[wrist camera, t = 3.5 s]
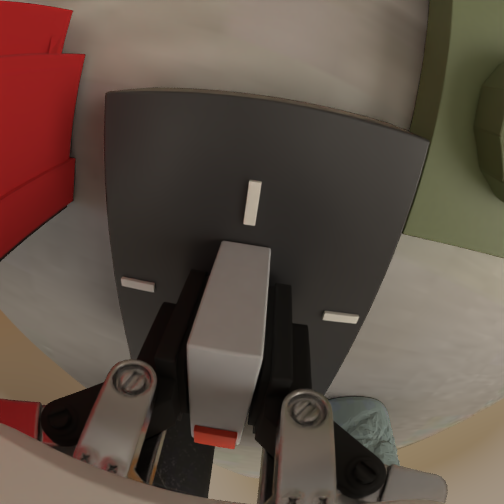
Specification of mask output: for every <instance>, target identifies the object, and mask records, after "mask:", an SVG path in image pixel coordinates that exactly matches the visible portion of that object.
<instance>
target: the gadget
mask: <svg viewBox="0 0 504 504" xmlns="http://www.w3.org/2000/svg"><path fill="white" fill-rule="evenodd" d="M429 144H430V142H429V140H428V139H426V138H423V137H421V136H419V135H417V134H414V133H412V132H410V131H407V130H405V129H402V128H400V127H397V126H395V125H392V124H390V123H387V122H383V121H380V120H377V119H373V118H370V117H366V116H362V115H358V114H355V113H351V112H347V111H343V110H338V109H334V108H330V107H325V106H321V105H316V104H311V103H306V102H300V101H295V100H289V99H283V98H277V97H271V96H264V95H256V94H248V93H240V92H230V91H220V90H207V89H190V88H140V89H129V90H119V91H110V92H107V93H106V95H105V118H104V161H105V186H106V202H107V215H108V226H109V235H110V244H111V252H112V260H113V267H114V274H115V280H116V286H117V292H118V298H119V304H120V309H121V314H122V319H123V324H124V329H125V333H126V338H127V342H128V347H129V351H130V355H131V359H137V357H138V355H139V353H140V351H141V348H142V346H143V344H144V342H145V339H146V337H147V335H148V333H149V331H150V328H151V326H152V324H153V322H154V320H155V318H156V316H157V313H158V311H159V309H160V307H161V305H162V304H163V302H169V303H174V304H176V303H177V301H178V298H179V296H180V294H181V291H182V289H183V287H184V285H185V282H186V280H187V278H188V275H189V273H190V271H191V269H195V270H201V271H207V273H208V276H210V273H211V270H212V268H213V265H214V262H215V259H216V256H217V253H218V250H219V248H220V245H221V242H222V241H229V242H235V243H241V244H248V245H254V246H260V247H266V248H270V249H271V256H270V271H269V286H273V287H274V286H275V283H281V284H288V285H291V287H292V323H296V324H304V325H307V326H308V330H309V344H310V360H311V378H312V390H315V391H317V392H319V393H321V394H323V395H325V393H326V391H327V389H328V388H329V386H330V384H331V383H332V381H333V379H334V377H335V376H336V374H337V372H338V370H339V368H340V367H341V365H342V363H343V361H344V359H345V357H346V356H347V354H348V352H349V350H350V348H351V346H352V344H353V342H354V340H355V338H356V336H357V334H358V332H359V330H360V328H361V326H362V324H363V322H364V320H365V318H366V316H367V314H368V312H369V310H370V308H371V305H372V303H373V301H374V299H375V297H376V295H377V292H378V290H379V288H380V285H381V283H382V281H383V279H384V276H385V274H386V271H387V269H388V267H389V264H390V262H391V259H392V257H393V254H394V252H395V249H396V247H397V244H398V241H399V239H400V236H401V233H402V231H403V228H404V225H405V222H406V219H407V217H408V214H409V211H410V208H411V205H412V202H413V199H414V196H415V193H416V189H417V186H418V183H419V180H420V176H421V173H422V169H423V166H424V162H425V159H426V155H427V151H428V147H429ZM269 286H268V287H269Z"/></svg>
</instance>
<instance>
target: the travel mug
mask: <svg viewBox="0 0 504 504" xmlns="http://www.w3.org/2000/svg"><path fill="white" fill-rule="evenodd" d="M214 449H215V446H211V445H206V444H200V443H195V442H194V437H192V435H191V423H190V411H189V414H184V413H183V415H182V419H181V421H179V420H177V421H176V425H175V426H173V427H171V428H169V429H167V431H166V435H165V439H164V442H163V446H162V450H161V454H160V457H159V461H158V465H157V469H156V473H155V476H154V480H153V484H152V486H154V487H158V488H162V489H166V490H170V491H174V492H178V493H183V494H187V495H192V496H197V497H203V498H208V491H209V484H210V478H211V470H212V463H213V456H214Z"/></svg>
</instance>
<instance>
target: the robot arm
mask: <svg viewBox="0 0 504 504" xmlns="http://www.w3.org/2000/svg"><path fill="white" fill-rule="evenodd" d="M208 279H209V276H208V273H207V271H201V270H195V269H191V271H190V273H189V275H188V278H187V280H186V282H185V285H184V287H183V289H182V291H181V294H180V296H179V298H178V301H177V303H176V304H174V303H169V302H163V304H162V305H161V307H160V309H159V311H158V313H157V316H156V318H155V320H154V322H153V324H152V326H151V328H150V331H149V333H148V335H147V337H146V339H145V342H144V344H143V346H142V348H141V351H140V353H139V355H138V357H137V359H128V360H123V361H121V362H118V363H117V364H116V365H114V366H113V367H112V368H111V370H110V371H109V373H108V375H107V377H106V379H105V381H104V382H103V383H100V384H98V385H95V386H92V387H90V388H87V389H85V390H82V391H79V392H76V393H74V394H71V395H68V396H65V397H62V398H59V399H57V400H54V401H52V402H50V403H48V404H47V405H42V404H41V403H40V402H29V401H18V400H8V399H0V504H245V503H236V502H227V501H221V500H214V499H208V498H203V497H197V496H192V495H187V494H183V493H178V492H174V491H170V490H166V489H162V488H158V487H154V486H152V484H153V480H154V476H155V473H156V469H157V465H158V461H159V457H160V454H161V450H162V446H163V442H164V439H165V435H166V431H167V429H169V428H171V427H173V426H175V425H176V421H177V420H179V421H181V419H182V415H183V413H184V414H189V411H190V409H189V393H188V373H187V342H188V339H189V336H190V333H191V329H192V326H193V323H194V320H195V317H196V314H197V311H198V308H199V305H200V303H201V300H202V297H203V294H204V291H205V288H206V285H207V282H208ZM248 425H254V426H253V434H255V440H256V441H257V442H258V443H259V444H260V445H261V446H262V457H261V468H260V479H259V489H258V499H257V504H445V501H446V497H447V484H446V482H445V480H444V479H443V478H442V477H441V476H438V475H436V474H431V473H426V472H422V471H418V470H414V469H410V468H406V467H402V466H398V465H395V464H391V465H390V466H389V465H386V464H383V462H382V461H381V460H380V459H379V457H377V456H376V455H375V454H374V453H372V452H371V451H370V450H369V449H367V448H366V447H365V446H364V445H362V444H361V443H360V442H359V441H357V440H356V439H355V438H354V437H353V436H351V435H350V434H349V433H348V432H347V431H345V430H344V429H343V428H342V427H341V426H339V425H338V424H337V423H336V422H335V421H333V411H332V407H331V404H330V402H329V401H328V399H327V398H326V397H325V396H324V395H323V394H321V393H319V392H317V391H315V390H312V378H311V360H310V344H309V330H308V326H307V325H304V324H296V323H292V287H291V285H288V284H281V283H275V286H274V287H273V286H269V287H268V300H267V313H266V326H265V339H264V352H263V360H262V364H261V367H260V371H259V375H258V379H257V382H256V386H255V390H254V393H253V397H252V401H251V404H250V408H249V416H248Z"/></svg>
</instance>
